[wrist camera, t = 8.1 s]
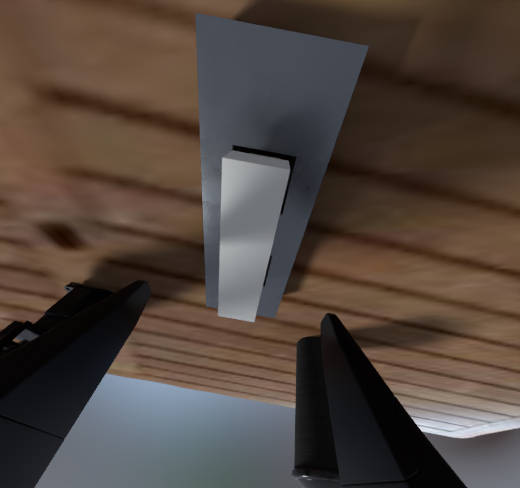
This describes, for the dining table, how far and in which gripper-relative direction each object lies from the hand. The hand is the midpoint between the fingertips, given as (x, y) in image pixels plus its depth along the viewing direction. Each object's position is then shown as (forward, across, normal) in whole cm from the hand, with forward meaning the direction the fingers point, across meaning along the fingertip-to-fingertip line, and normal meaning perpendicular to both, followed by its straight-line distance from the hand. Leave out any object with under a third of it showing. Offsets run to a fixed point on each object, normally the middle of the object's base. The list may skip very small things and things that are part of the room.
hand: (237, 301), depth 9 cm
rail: (+10, 0, 0) cm, 10 cm away
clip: (+10, 0, 0) cm, 10 cm away
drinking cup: (+10, -12, +21) cm, 26 cm away
